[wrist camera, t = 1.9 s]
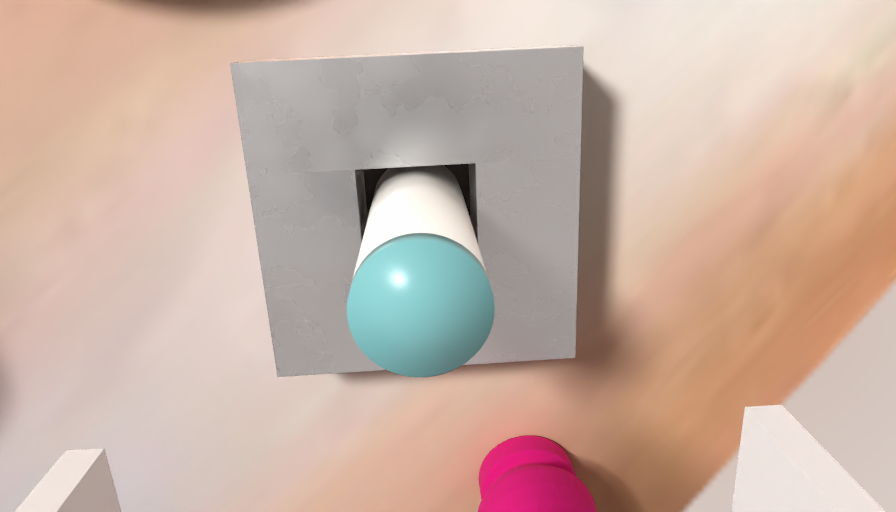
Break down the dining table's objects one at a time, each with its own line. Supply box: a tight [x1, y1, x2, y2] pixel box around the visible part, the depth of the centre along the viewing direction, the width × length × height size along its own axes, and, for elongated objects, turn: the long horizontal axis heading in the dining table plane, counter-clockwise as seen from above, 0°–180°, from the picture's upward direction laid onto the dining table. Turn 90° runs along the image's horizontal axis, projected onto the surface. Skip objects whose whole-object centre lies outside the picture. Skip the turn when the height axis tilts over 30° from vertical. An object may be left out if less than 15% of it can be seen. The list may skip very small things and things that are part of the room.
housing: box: [230, 45, 583, 377], centre depth 33 cm, size 16×16×4 cm
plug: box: [347, 165, 495, 377], centre depth 28 cm, size 5×5×15 cm
